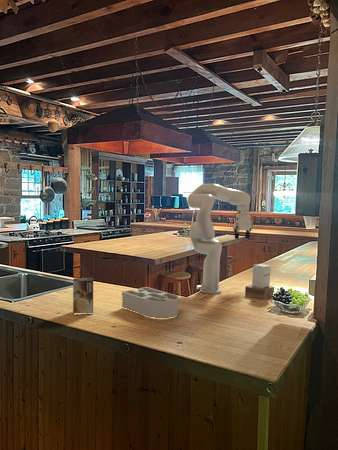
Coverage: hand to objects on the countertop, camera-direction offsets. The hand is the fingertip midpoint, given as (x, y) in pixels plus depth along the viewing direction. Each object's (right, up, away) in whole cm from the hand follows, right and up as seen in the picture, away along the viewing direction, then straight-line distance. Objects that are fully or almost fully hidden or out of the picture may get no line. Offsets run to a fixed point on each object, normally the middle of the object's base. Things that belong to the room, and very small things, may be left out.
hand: (242, 238), depth 245 cm
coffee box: (-89, -33, -72) cm, 119 cm away
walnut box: (+4, -33, -30) cm, 44 cm away
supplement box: (+5, -27, -30) cm, 41 cm away
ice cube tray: (-56, -34, -66) cm, 93 cm away
